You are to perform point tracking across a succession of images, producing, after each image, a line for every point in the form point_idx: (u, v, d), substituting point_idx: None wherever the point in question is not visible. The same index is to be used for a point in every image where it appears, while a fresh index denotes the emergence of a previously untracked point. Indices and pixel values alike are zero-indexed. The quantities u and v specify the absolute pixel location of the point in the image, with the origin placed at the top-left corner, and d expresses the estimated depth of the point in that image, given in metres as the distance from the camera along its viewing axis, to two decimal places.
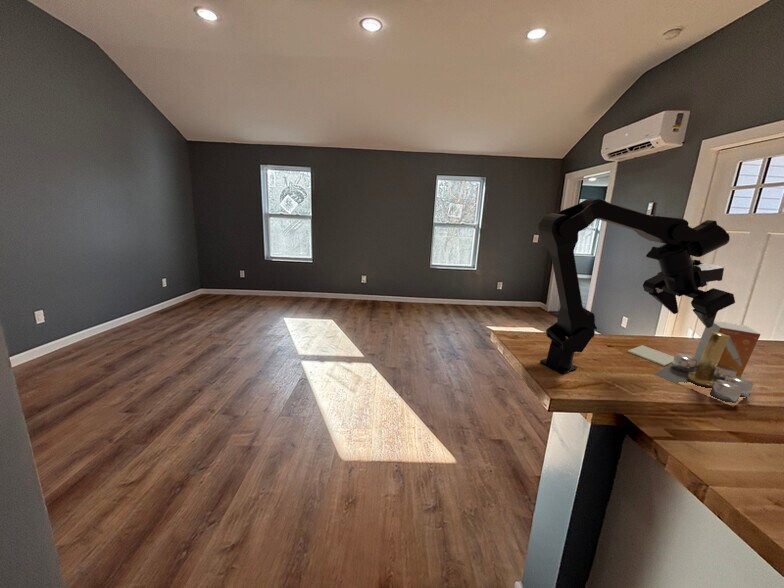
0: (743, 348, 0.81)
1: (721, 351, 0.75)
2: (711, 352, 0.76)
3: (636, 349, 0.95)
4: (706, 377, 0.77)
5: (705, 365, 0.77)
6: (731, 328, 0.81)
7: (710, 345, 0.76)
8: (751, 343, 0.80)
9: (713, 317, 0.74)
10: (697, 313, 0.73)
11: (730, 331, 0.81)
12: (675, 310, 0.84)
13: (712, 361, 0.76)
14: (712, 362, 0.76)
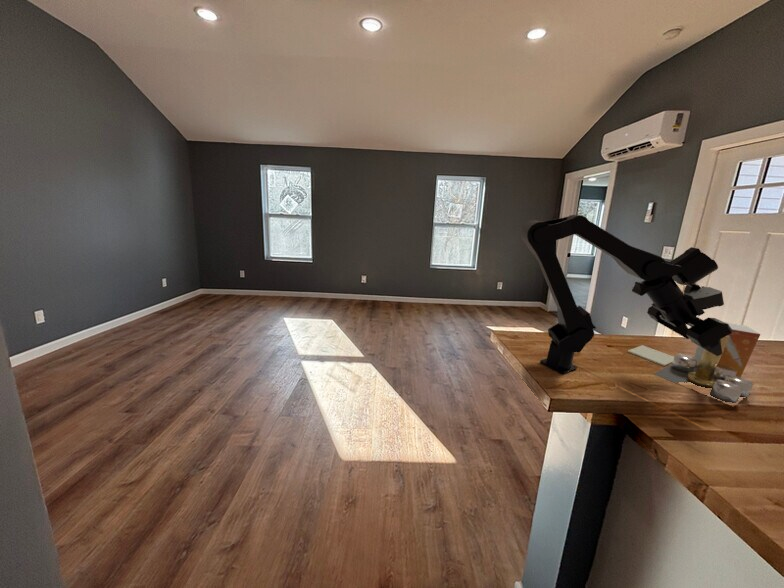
0: (743, 348, 0.81)
1: None
2: None
3: (636, 349, 0.95)
4: (706, 377, 0.77)
5: (705, 365, 0.77)
6: (731, 328, 0.81)
7: None
8: (751, 343, 0.80)
9: (718, 345, 0.71)
10: None
11: None
12: None
13: (712, 361, 0.76)
14: (712, 362, 0.76)
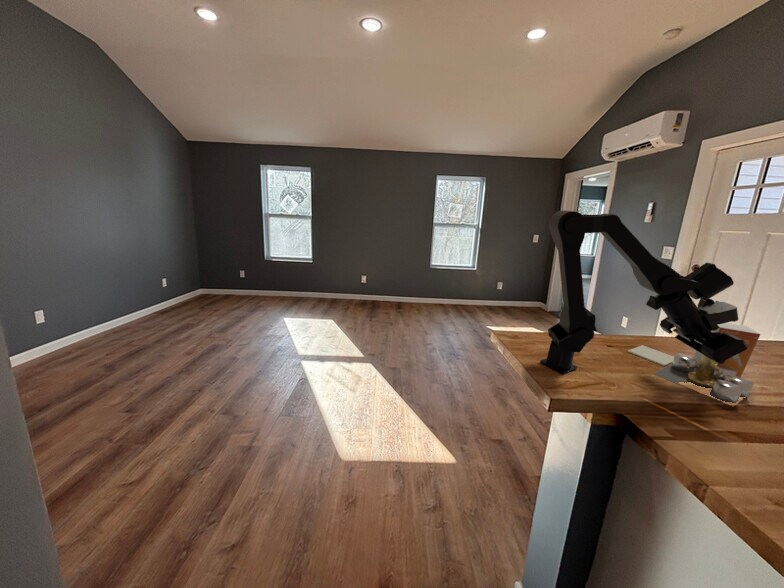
0: None
1: None
2: None
3: (636, 349, 0.95)
4: (706, 377, 0.77)
5: (705, 365, 0.77)
6: (731, 328, 0.81)
7: None
8: (751, 343, 0.80)
9: None
10: (701, 353, 0.74)
11: (730, 331, 0.81)
12: None
13: (712, 361, 0.76)
14: (712, 362, 0.76)
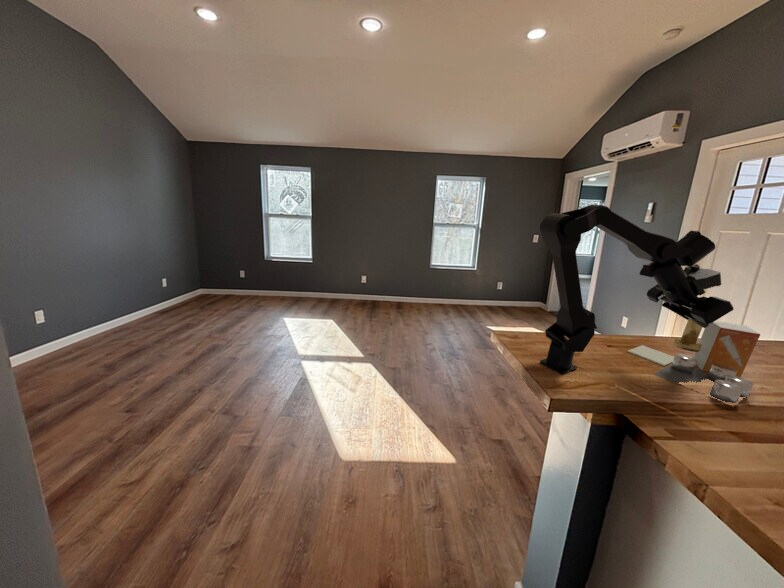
0: (743, 348, 0.81)
1: None
2: None
3: (636, 349, 0.95)
4: (692, 341, 0.81)
5: (691, 329, 0.81)
6: (731, 328, 0.81)
7: None
8: (751, 343, 0.80)
9: None
10: (688, 317, 0.78)
11: (730, 331, 0.81)
12: None
13: (698, 325, 0.80)
14: (697, 326, 0.80)
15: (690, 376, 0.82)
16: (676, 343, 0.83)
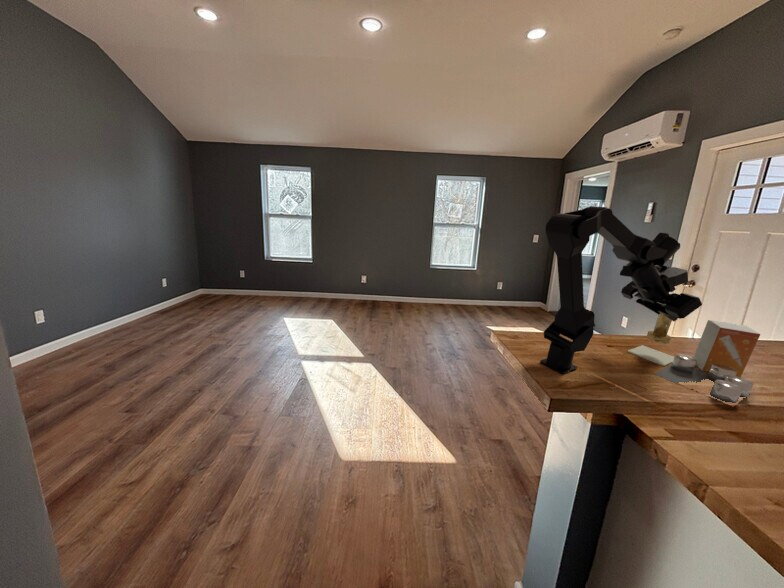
0: (743, 348, 0.81)
1: None
2: None
3: (636, 349, 0.95)
4: (663, 334, 0.89)
5: (662, 323, 0.88)
6: (731, 328, 0.81)
7: None
8: (751, 343, 0.80)
9: None
10: (662, 313, 0.85)
11: (730, 331, 0.81)
12: None
13: (668, 319, 0.87)
14: (668, 320, 0.87)
15: (690, 376, 0.82)
16: (649, 336, 0.90)
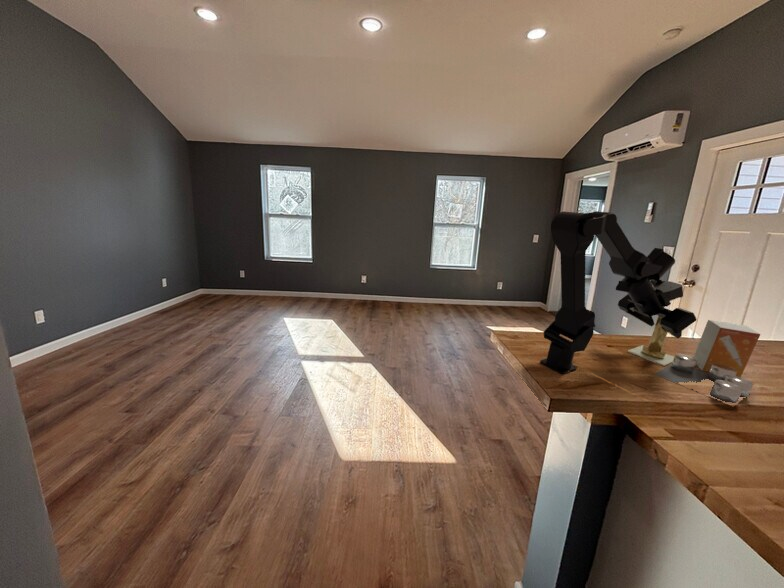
0: (743, 348, 0.81)
1: None
2: None
3: (636, 349, 0.95)
4: (658, 349, 0.90)
5: (657, 338, 0.89)
6: (731, 328, 0.81)
7: None
8: (751, 343, 0.80)
9: None
10: (665, 330, 0.83)
11: (730, 331, 0.81)
12: (651, 323, 0.93)
13: (662, 335, 0.89)
14: (662, 336, 0.89)
15: (690, 376, 0.82)
16: (644, 351, 0.92)
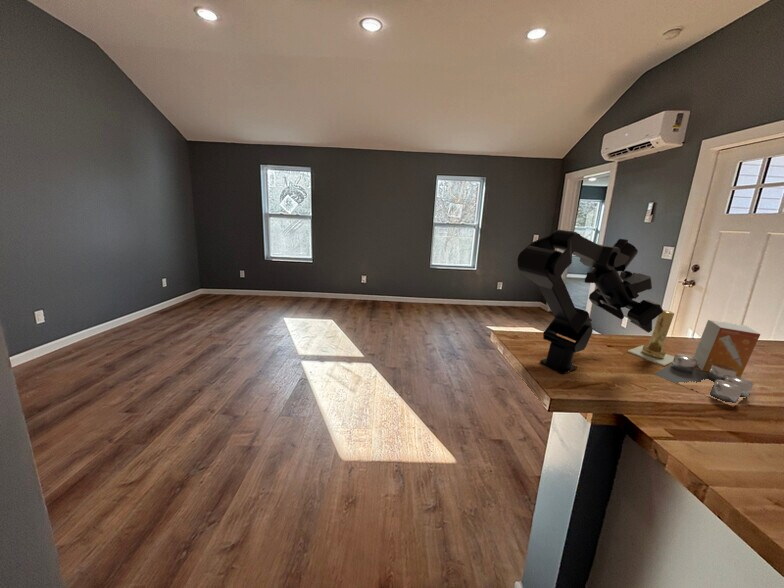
0: (743, 348, 0.81)
1: (669, 326, 0.88)
2: (661, 328, 0.88)
3: (636, 349, 0.95)
4: (658, 349, 0.90)
5: (657, 339, 0.89)
6: (731, 328, 0.81)
7: (660, 322, 0.88)
8: (751, 343, 0.80)
9: (650, 323, 0.82)
10: None
11: (730, 331, 0.81)
12: (621, 315, 0.92)
13: (662, 335, 0.89)
14: (662, 336, 0.89)
15: (690, 376, 0.82)
16: (644, 351, 0.92)
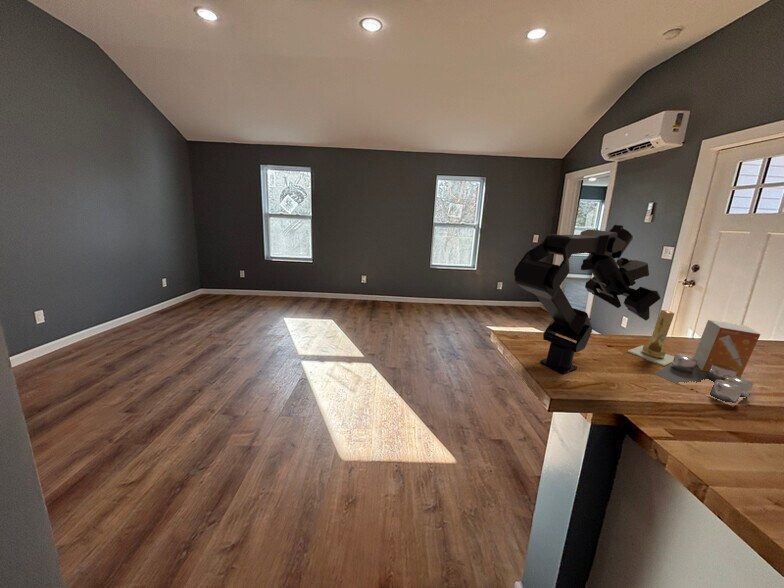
0: (743, 348, 0.81)
1: (669, 326, 0.88)
2: (661, 327, 0.88)
3: (636, 349, 0.95)
4: (658, 349, 0.90)
5: (657, 338, 0.89)
6: (731, 328, 0.81)
7: (660, 321, 0.88)
8: (751, 343, 0.80)
9: (647, 311, 0.80)
10: (631, 311, 0.79)
11: (730, 331, 0.81)
12: (618, 304, 0.90)
13: (663, 335, 0.89)
14: (662, 336, 0.89)
15: (690, 376, 0.82)
16: (644, 351, 0.92)
